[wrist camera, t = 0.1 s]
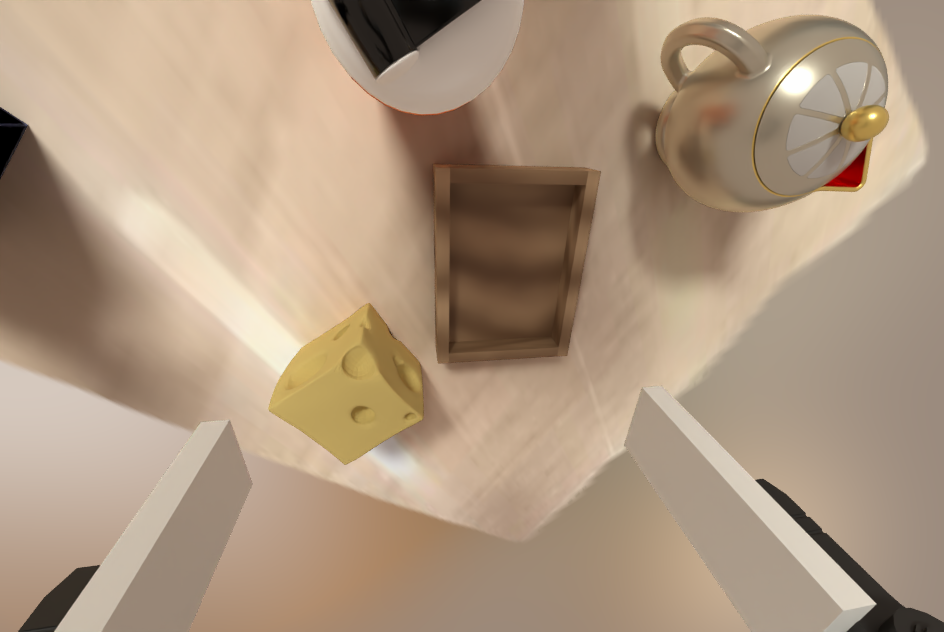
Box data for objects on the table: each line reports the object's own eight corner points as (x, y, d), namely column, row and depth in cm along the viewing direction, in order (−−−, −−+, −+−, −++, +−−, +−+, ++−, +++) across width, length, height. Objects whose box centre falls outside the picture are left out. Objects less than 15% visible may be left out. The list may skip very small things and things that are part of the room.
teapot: (785, 111, 37) (1027, 101, 22) (685, 224, 41) (836, 276, 27) (682, -35, 30) (934, -183, 16) (574, 118, 34) (696, 111, 20)
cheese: (369, 299, 39) (358, 348, 30) (426, 364, 44) (430, 423, 35) (293, 348, 40) (261, 409, 32) (357, 406, 45) (344, 473, 37)
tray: (433, 163, 34) (436, 167, 31) (584, 167, 36) (600, 171, 33) (435, 346, 43) (437, 363, 40) (556, 339, 45) (567, 355, 42)
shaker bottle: (488, 70, 31) (591, -2, 14) (411, 143, 33) (416, 161, 15) (416, -43, 27) (434, -348, 10) (333, 46, 29) (219, -78, 11)
